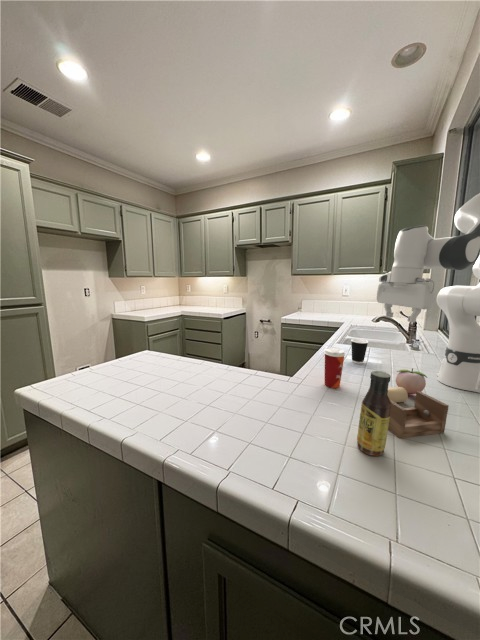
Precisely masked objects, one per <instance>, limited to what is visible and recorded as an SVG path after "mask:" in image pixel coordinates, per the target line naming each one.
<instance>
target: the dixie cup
mask: <svg viewBox="0 0 480 640" xmlns="http://www.w3.org/2000/svg"><path fill="white" fill-rule="evenodd" d="M350 341H351V360H352V362H351V363H354V364H359V365H362V364H363V363H364V361H365V357H366V353H367V348H368V345H369V344H368V343H369V341H368V340H366V339H362V338H352V339H350Z"/></svg>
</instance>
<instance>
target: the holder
mask: <svg viewBox="0 0 480 640" xmlns="http://www.w3.org/2000/svg"><path fill="white" fill-rule="evenodd" d="M390 401H391V409H390V419H389V426H388V431H389V432H390V433H391V434H393V435H395V436H396V437H397V438H398V439H400V440H401V439H408V438H414V437H421V436H429V435H435V434H444V433H445V431H446V425H447V417H448V412H449V404H446V403H444V402H442V401H440V400H438V399H436V398H434V397H432V396H430V395H429V394H426V393H424V392H423V391H422V392H420V391H417V392H416V394H415V398H414V407H405V408H404V407H403V406H401V405H400V404H398V403H395V402H393V401H392V400H390Z"/></svg>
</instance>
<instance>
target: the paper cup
mask: <svg viewBox="0 0 480 640" xmlns="http://www.w3.org/2000/svg"><path fill="white" fill-rule="evenodd" d="M323 353H324V385H326V386H325V387H327V388H331V389H338V388H340V386H341V380H342V376H343V375H342V373H343V368H344V363H345V362H344V361H345V356H346V353H345V350H343V349H340V348H336V347H335V348H334V347H328V348H325V350H324V352H323Z"/></svg>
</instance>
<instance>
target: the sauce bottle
mask: <svg viewBox="0 0 480 640" xmlns="http://www.w3.org/2000/svg"><path fill="white" fill-rule="evenodd" d="M370 372H371V373H370V384H369V388H368V391H367V392H366V394H365V396H364V398H363V399H362V402H361V407H360V413H359V420H358V421H359V422H358V429H357V435H356V437H357V438H356V445H357V448H358V449H359V450H360V451H361V452H363V453H364V454H366V455H367V456H374V457H379V456H382V455H383V454H384V453H385V448H386V444H387V438H388V431H389V430H388V426H389V419H390V409H391V401H390V399H389V397H388V395H387V393H388V388H389V383H390V382H391V374H390V373H388V372H386V371H382V370H381V371H380V370H372V371H370Z"/></svg>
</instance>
